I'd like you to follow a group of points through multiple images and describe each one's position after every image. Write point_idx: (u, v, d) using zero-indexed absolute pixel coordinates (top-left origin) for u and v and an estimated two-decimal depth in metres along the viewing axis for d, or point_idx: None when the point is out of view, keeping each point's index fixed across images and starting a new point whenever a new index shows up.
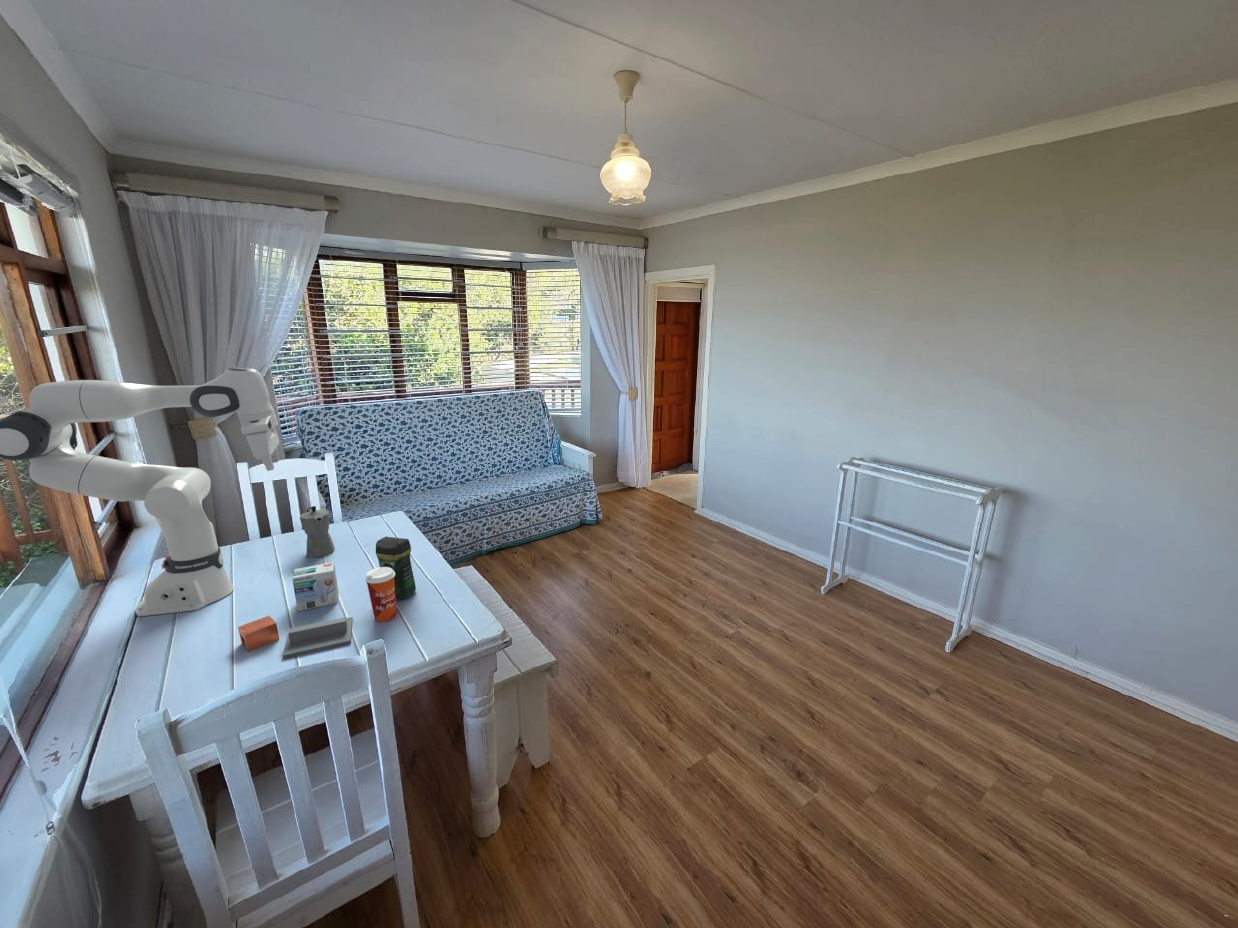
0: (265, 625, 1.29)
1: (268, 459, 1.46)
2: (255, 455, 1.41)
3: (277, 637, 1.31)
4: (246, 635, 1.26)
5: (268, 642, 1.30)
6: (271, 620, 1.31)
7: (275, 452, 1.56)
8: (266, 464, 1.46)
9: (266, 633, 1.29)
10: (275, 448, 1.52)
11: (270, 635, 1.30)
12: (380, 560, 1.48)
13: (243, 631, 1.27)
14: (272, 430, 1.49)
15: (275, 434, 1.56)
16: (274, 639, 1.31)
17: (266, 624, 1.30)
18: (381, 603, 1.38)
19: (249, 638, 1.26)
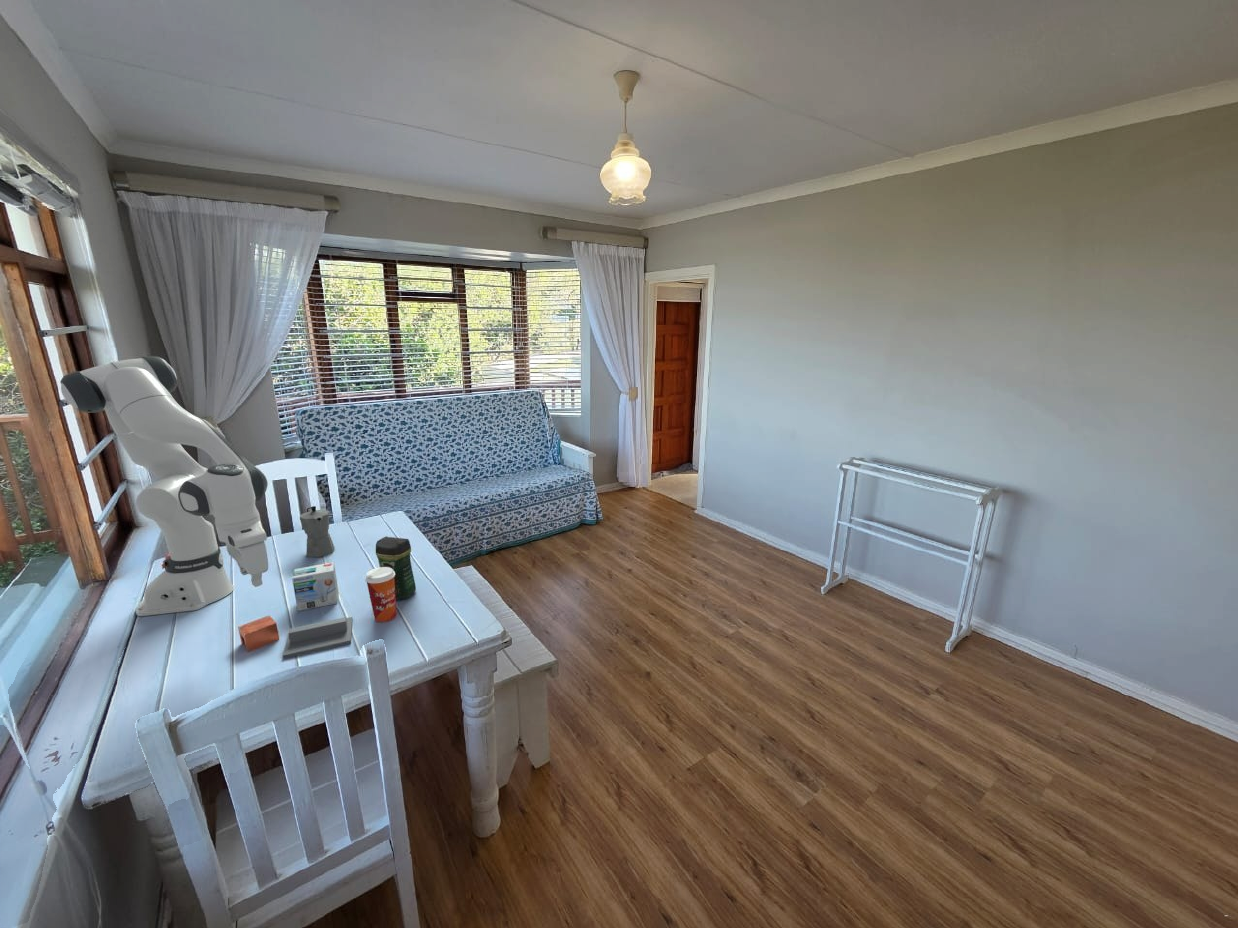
0: (265, 625, 1.29)
1: (259, 573, 1.22)
2: (253, 571, 1.18)
3: (277, 637, 1.31)
4: (246, 635, 1.26)
5: (268, 642, 1.30)
6: (271, 620, 1.31)
7: None
8: (255, 579, 1.22)
9: (266, 633, 1.29)
10: None
11: (270, 635, 1.30)
12: (380, 560, 1.48)
13: (243, 631, 1.27)
14: None
15: None
16: (274, 639, 1.31)
17: (266, 624, 1.30)
18: (381, 603, 1.38)
19: (249, 638, 1.26)
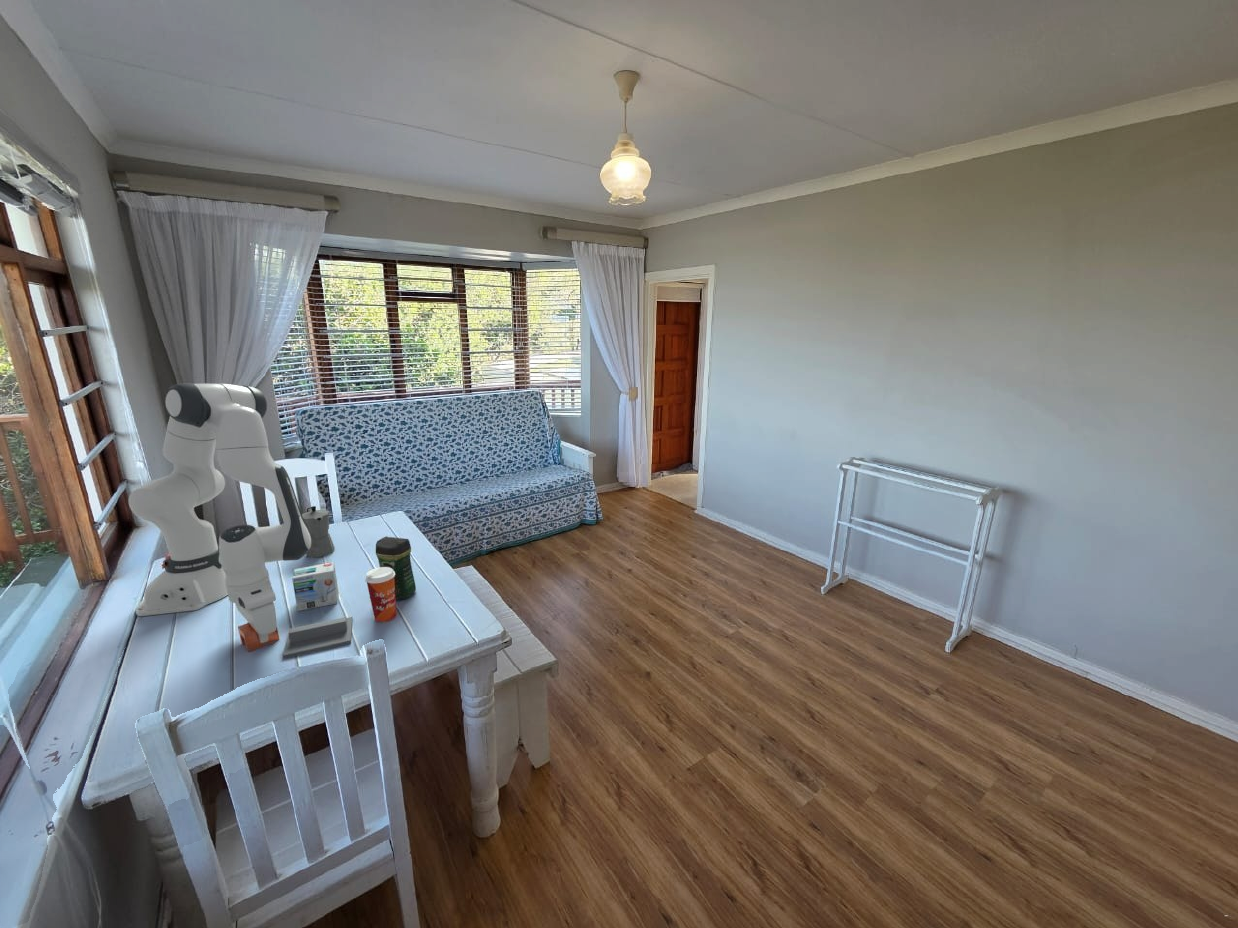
0: None
1: None
2: (262, 632, 1.22)
3: (277, 637, 1.31)
4: (246, 635, 1.26)
5: (268, 642, 1.30)
6: None
7: None
8: (261, 636, 1.27)
9: None
10: None
11: (270, 635, 1.30)
12: (380, 560, 1.48)
13: (243, 631, 1.27)
14: None
15: None
16: (274, 639, 1.31)
17: None
18: (381, 603, 1.38)
19: (249, 638, 1.26)
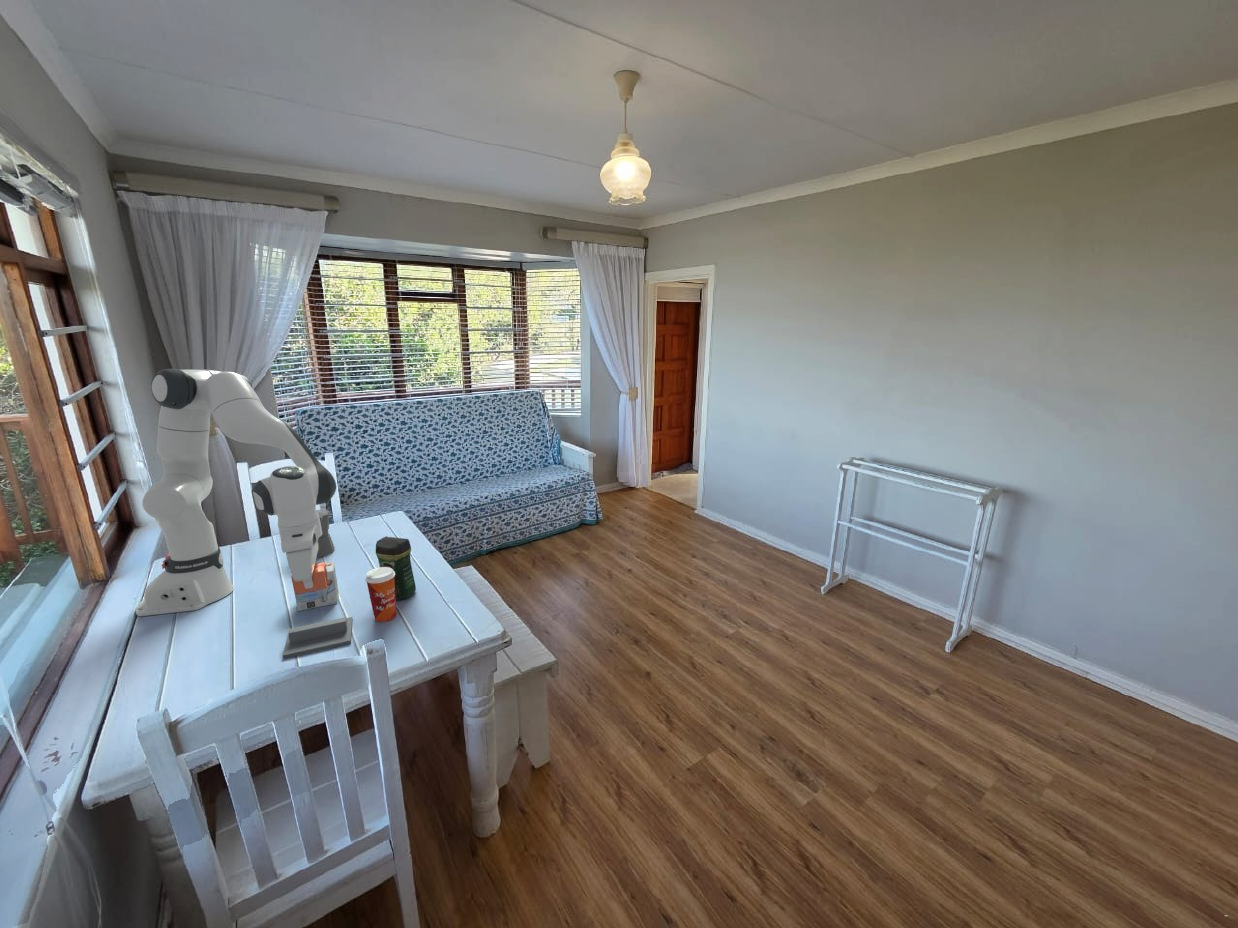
0: (313, 571, 1.26)
1: None
2: (295, 578, 1.17)
3: (324, 585, 1.27)
4: None
5: (315, 589, 1.26)
6: (322, 567, 1.28)
7: None
8: (305, 581, 1.23)
9: (313, 580, 1.26)
10: (315, 560, 1.28)
11: (317, 582, 1.26)
12: (380, 560, 1.48)
13: None
14: (315, 541, 1.25)
15: None
16: (321, 587, 1.27)
17: (315, 571, 1.26)
18: (381, 603, 1.38)
19: None
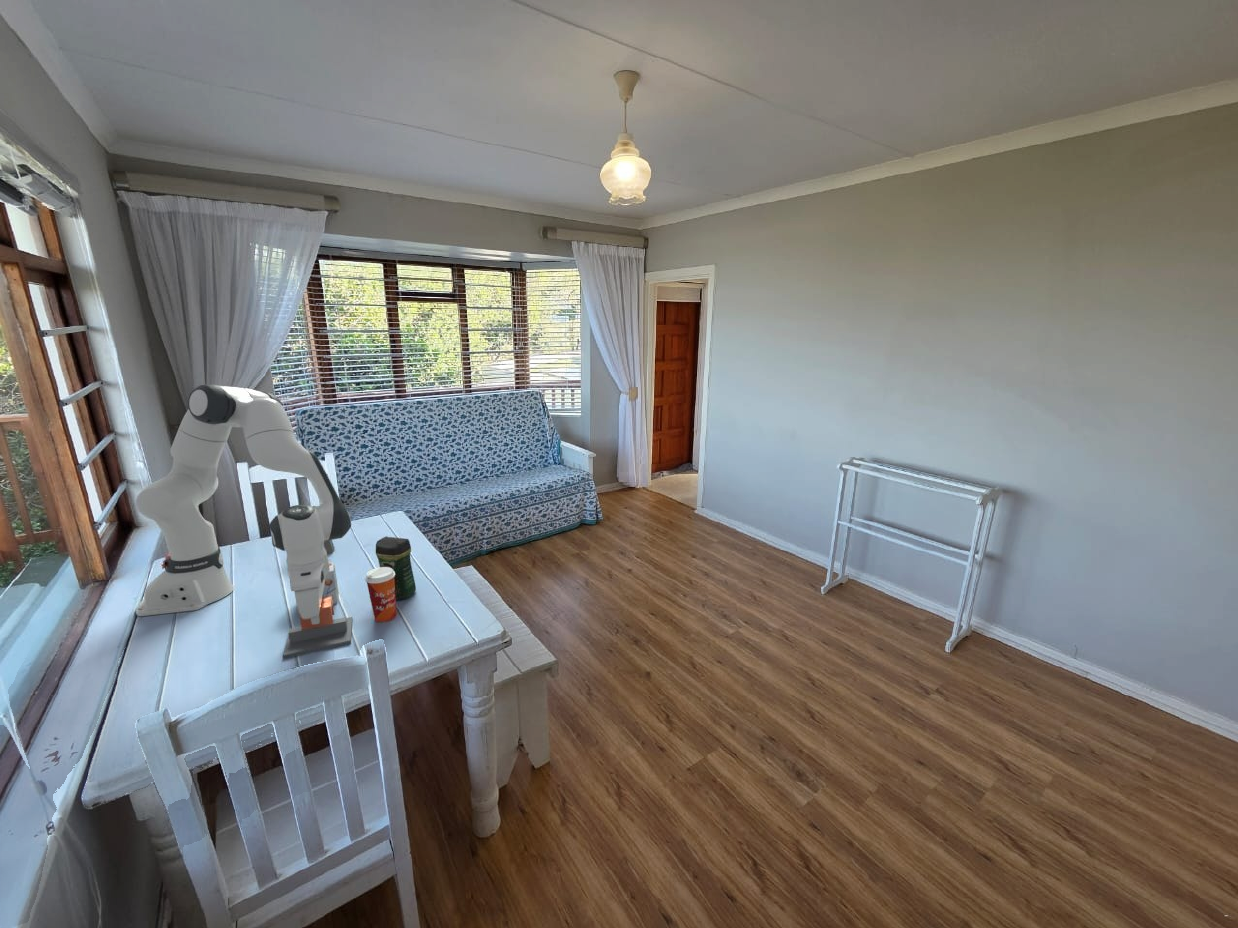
0: (320, 607, 1.29)
1: None
2: (303, 616, 1.20)
3: (331, 621, 1.30)
4: None
5: (322, 624, 1.29)
6: (329, 602, 1.31)
7: None
8: (312, 618, 1.26)
9: (320, 615, 1.28)
10: (322, 595, 1.31)
11: (324, 618, 1.29)
12: (380, 560, 1.48)
13: None
14: None
15: None
16: (328, 622, 1.30)
17: (322, 606, 1.29)
18: (381, 603, 1.38)
19: None
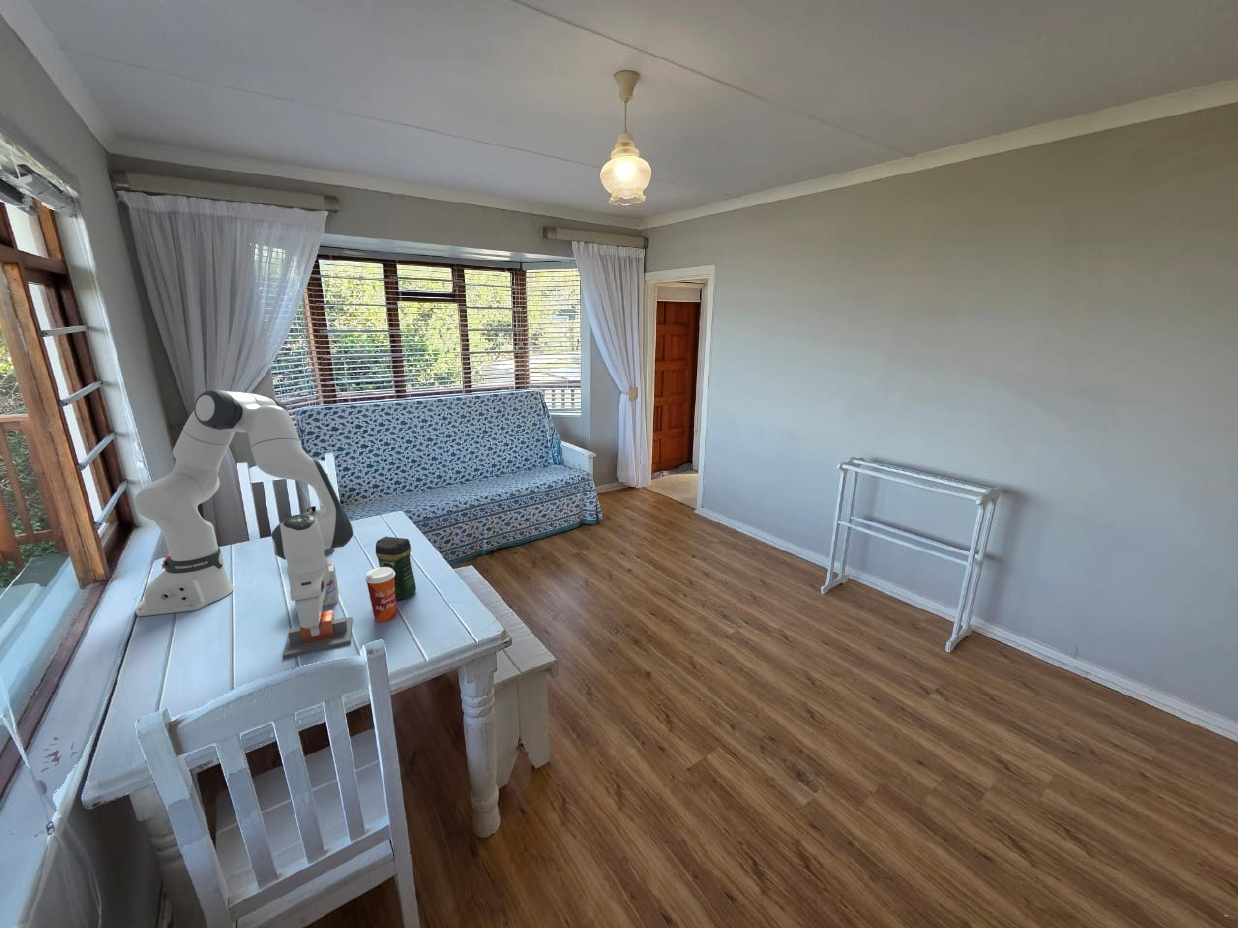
0: (321, 620, 1.30)
1: None
2: (303, 625, 1.20)
3: (331, 634, 1.31)
4: (301, 627, 1.27)
5: (322, 637, 1.30)
6: (329, 616, 1.32)
7: None
8: (312, 629, 1.26)
9: (321, 629, 1.29)
10: (322, 604, 1.31)
11: (324, 631, 1.30)
12: (380, 560, 1.48)
13: None
14: None
15: None
16: (328, 636, 1.31)
17: (323, 620, 1.30)
18: (381, 603, 1.38)
19: (304, 630, 1.28)
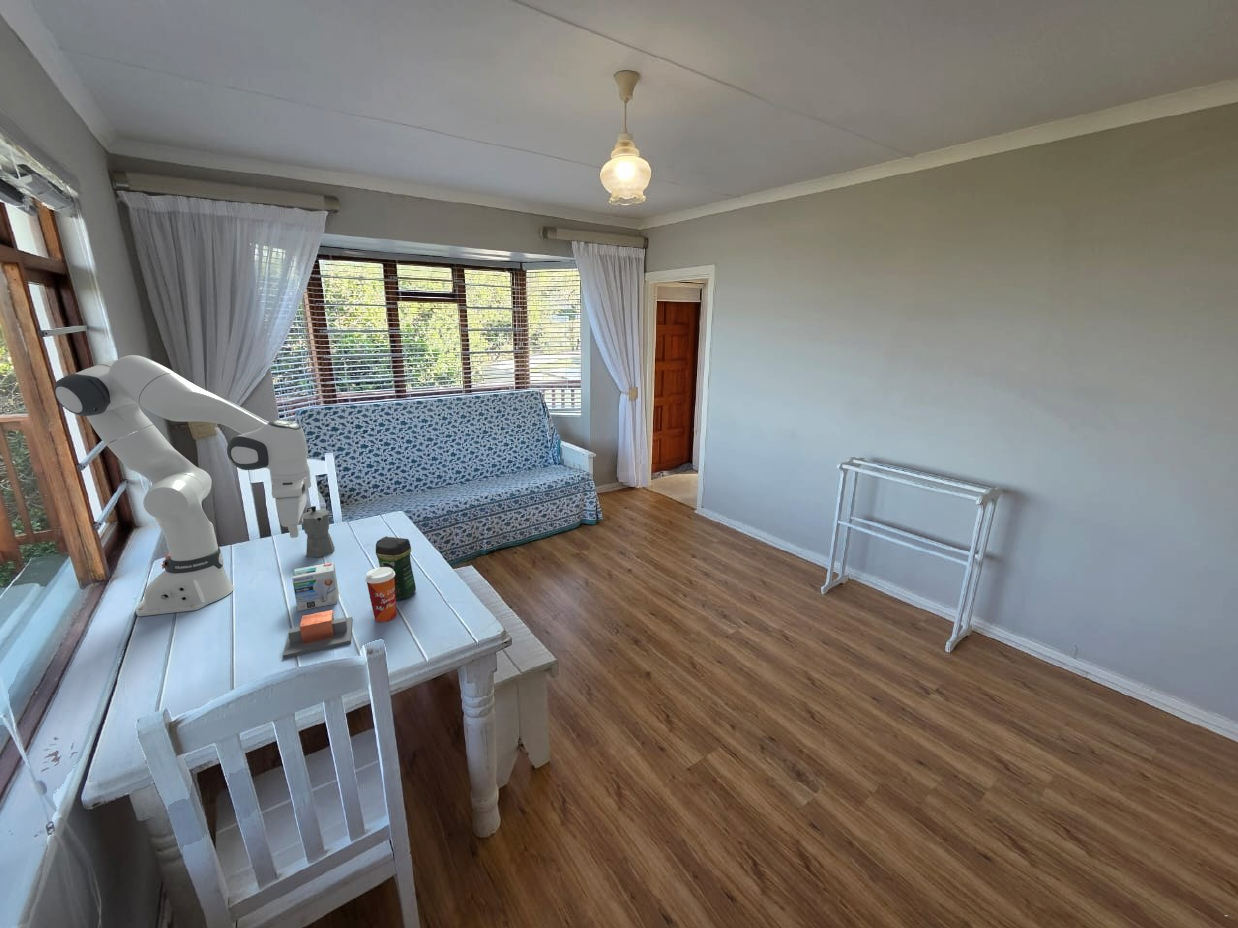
0: (321, 620, 1.30)
1: (294, 526, 1.29)
2: (282, 523, 1.25)
3: (331, 634, 1.31)
4: (301, 627, 1.27)
5: (322, 637, 1.30)
6: (329, 616, 1.32)
7: (301, 513, 1.40)
8: (291, 531, 1.30)
9: (321, 629, 1.29)
10: None
11: (324, 631, 1.30)
12: (380, 560, 1.48)
13: (302, 622, 1.29)
14: (304, 492, 1.33)
15: (304, 493, 1.40)
16: (328, 636, 1.31)
17: (323, 620, 1.30)
18: (381, 603, 1.38)
19: (304, 630, 1.28)
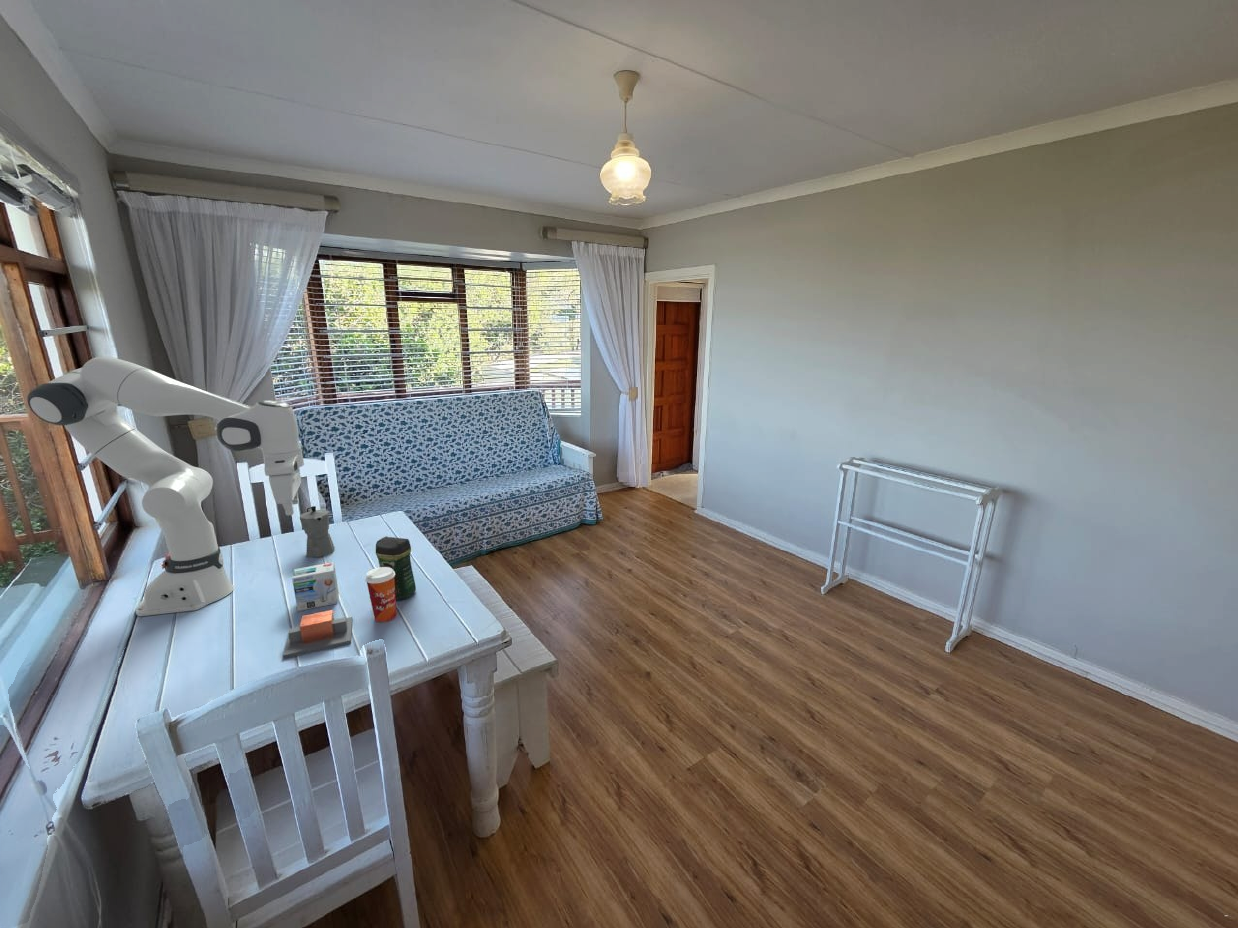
0: (321, 620, 1.30)
1: (289, 503, 1.32)
2: (277, 500, 1.27)
3: (331, 634, 1.31)
4: (301, 627, 1.27)
5: (322, 637, 1.30)
6: (329, 616, 1.32)
7: (296, 493, 1.42)
8: (286, 508, 1.32)
9: (321, 629, 1.29)
10: (297, 490, 1.38)
11: (324, 631, 1.30)
12: (380, 560, 1.48)
13: (302, 622, 1.29)
14: (297, 471, 1.35)
15: (298, 473, 1.43)
16: (328, 636, 1.31)
17: (323, 620, 1.30)
18: (381, 603, 1.38)
19: (304, 630, 1.28)
